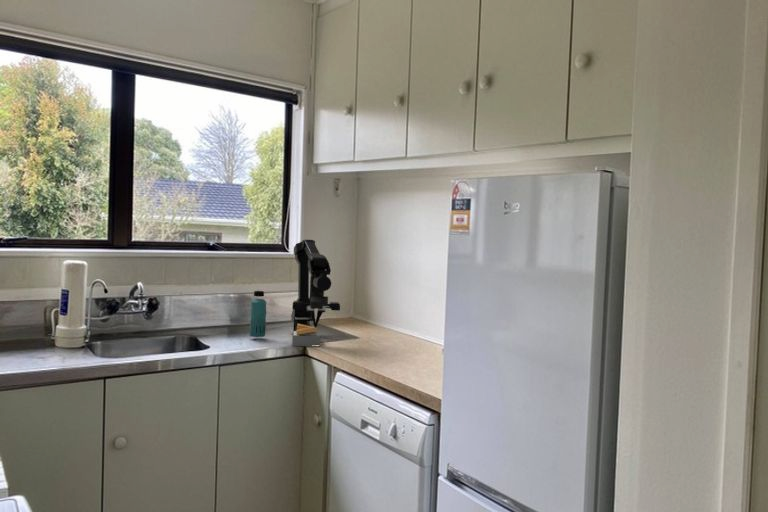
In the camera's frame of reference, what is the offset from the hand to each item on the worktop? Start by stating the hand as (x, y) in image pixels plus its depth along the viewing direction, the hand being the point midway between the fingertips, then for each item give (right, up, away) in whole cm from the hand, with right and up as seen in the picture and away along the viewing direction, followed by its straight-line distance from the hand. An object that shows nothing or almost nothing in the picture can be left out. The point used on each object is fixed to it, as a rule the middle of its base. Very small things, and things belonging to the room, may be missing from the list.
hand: (315, 327), depth 230 cm
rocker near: (-3, -1, 0) cm, 4 cm away
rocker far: (-4, -1, +5) cm, 7 cm away
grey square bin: (-4, -7, +3) cm, 8 cm away
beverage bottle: (-25, -6, +7) cm, 26 cm away
